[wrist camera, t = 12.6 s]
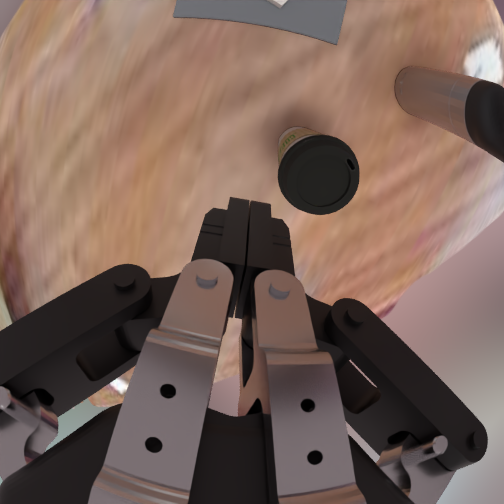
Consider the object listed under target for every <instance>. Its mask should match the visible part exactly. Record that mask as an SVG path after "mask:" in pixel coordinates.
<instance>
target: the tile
mask: <svg viewBox="0 0 504 504" xmlns="http://www.w3.org/2000/svg"><path fill="white" fill-rule="evenodd" d="M267 1H269V2H270V3H272V4H274V5H275V6H277V7H278V8H281V7H282V6H283V5H284V4H285V3H286V2H287V1H288V0H267Z"/></svg>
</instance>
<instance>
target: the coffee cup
mask: <svg viewBox="0 0 504 504" xmlns="http://www.w3.org/2000/svg"><path fill="white" fill-rule="evenodd" d="M278 160H279V169H278V182H279V187H280V189H281V192H282V194H283V195H284V197H285V198H286V199H287V200H288V202H289V203H290V204H291V205H293V206H294V207H296V208H297V209H299V210H302V211H304V212H307V213H310V214H315V215H324V214H330V213H333V212H336V211H338V210H340V209H341V208H343V207H344V206H345V205H347V204H348V203H349V202H350V200H351V199H352V198H353V196H354V195H355V193H356V191H357V188H358V184H359V165H358V161H357V159H356V156H355V154H354V153H353V151H352V150H351V148H350V147H349V146H348V145H347V144H346V143H344V142H343V141H341V140H340V139H338V138H335V137H332V136H329V135H323V134H321V133H318V132H316V131H313V130H310V129H306V128H303V127H292V128H289V129H288V130H286V131H285V132H284V133H283V134H282V135H281V137H280V138H279V142H278Z"/></svg>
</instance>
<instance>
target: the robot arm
mask: <svg viewBox="0 0 504 504" xmlns="http://www.w3.org/2000/svg"><path fill="white" fill-rule="evenodd" d="M395 94H396V98H397V100H398V102H399V104H400V106H401V107H402V108H403V109H404V110H405V111H406V112H407V113H409V114H411V115H413V116H416V117H418V118H421V119H423V120H425V121H428V122H430V123H432V124H434V125H437V126H439V127H441V128H443V129H445V130H447V131H449V132H452V133H454V134H456V135H458V136H460V137H461V138H464V139H466V140H467V141H469V142H471V143H473V144H475V145H477V146H478V147H480V148H482V149H484V150H485V151H487V152H488V153H490V154H491V155H493V156H494V157H496V158H497V159H499V160H501V161H502V162H503V163H504V88H503V87H502V86H500V85H499V84H496V83H493V82H490V81H486V80H483V79H479V78H475V77H471V76H466V75H462V74H457V73H452V72H447V71H441V70H435V69H429V68H422V67H413V66H411V67H407V68H405V69H403V70H402V71H401V72H400V73H399V75H398V76H397V79H396V82H395ZM235 306H236V310H235ZM234 310H235V318H239V319H242V329H241V333H240V336H239V371H240V396H239V403H238V417H233V416H229V415H226V414H223V413H220V412H218V411H215V410H212V409H210V408H208V406H209V401H210V395H211V391H212V386H213V381H214V376H215V371H216V366H217V361H218V356H219V352H220V347H221V342H222V337H223V335H224V334H225V332H226V327H227V323H228V318H229V317H231V318H233V314H234ZM349 360H351V361H352V362H353V363H354V364H355V365H356V366H357V367H358V368H359V369H360V370H361V371H362V372H363V373H364V374H365V375H366V376H367V377H368V378H369V379H370V380H371V381H372V382H373V383H374V384H375V385H376V386H377V387H375V386H373V385H372V384H371V383H370V382H369V381H368V380H367V379H366V378H365V377H364V376H363V375H362V374H361V373H360V372H359V371H358V370H357V369H356V368H355V367H354V365H352V363H351V362H350V361H349ZM135 365H136V366H135ZM134 366H135V369H134V372H133V375H132V377H131V380H130V383H129V386H128V389H127V392H126V394H125V397H124V400H123V403H121V404H118V405H115V406H112V407H110V408H108V409H106V410H104V411H102V412H101V413H99V414H98V415H97V416H95V417H93V418H92V419H91V420H90V421H88V422H87V423H85V424H84V425H83V426H81V427H80V428H78V429H77V430H76V431H74V432H73V433H71V434H70V435H69V436H67V437H66V438H64V439H63V440H61V441H60V442H59V443H57V444H56V445H54V446H53V447H52V448H50V449H49V450H47V451H46V452H45V450H46V447H47V446H48V445H49V444H50V443H51V442H52V441H53V440H54V439H55V437H56V436H57V434H58V419H57V417H59V416H60V415H62V414H64V413H65V412H67V411H68V410H70V409H71V408H73V407H74V406H76V405H77V404H79V403H80V402H82V401H83V400H85V399H87V398H88V397H90V396H91V395H93V394H94V393H96V392H97V391H99V390H100V389H102V388H103V387H104V386H106V385H107V384H109V383H110V382H112V381H113V380H115V379H116V378H118V377H119V376H121V375H122V374H124V373H125V372H127V371H128V370H130V369H131V368H132V367H134ZM345 421H346V422H347V423H348V424H349V425H350V426H351V427H352V428H353V429H354V430H355V431H356V432H357V433H358V434H359V435H360V436H361V437H362V438H363V439H364V440H365V441H366V442H367V443H368V444H369V446H370V447H371V448H372V449H373V450H375V452H376V453H377V454H378V455H379V456H380V459H379V460H378V461H377V462H376V463H375V462H374V461H373V460H372V459H371V458H370V457H369V455H368V454H367V453H366V452H365V451H364V450H363V449H362V448H361V447H360V446H359V445H358V443H357V442H356V441H355V440H354V439H353V438H352V437H351V436H349V435H348V433H347V427H346V422H345ZM487 443H488V437H487V432H486V430H485V427H484V426H483V424H482V423H481V422H480V421H479V420H478V419H477V418H476V417H475V415H474V414H473V413H472V412H471V411H470V410H469V409H468V408H467V407H466V406H465V405H464V403H463V402H462V401H461V400H460V399H459V398H458V397H457V396H456V395H455V394H454V393H453V392H452V391H451V389H449V387H448V386H447V385H446V384H445V383H444V382H443V381H442V380H441V379H440V378H439V377H438V376H437V375H436V374H435V373H434V372H433V371H432V370H431V369H430V368H429V367H428V366H427V365H426V364H425V363H424V362H423V361H422V360H421V359H420V358H419V357H418V356H417V355H416V354H415V353H414V352H413V351H412V350H411V349H410V348H409V347H408V346H407V345H406V344H405V343H404V342H403V341H402V340H401V339H400V338H399V337H398V336H397V335H396V334H395V333H394V332H393V331H392V330H391V329H390V328H389V327H388V326H387V325H386V324H385V323H384V322H383V321H382V320H381V319H380V318H378V317H377V316H376V315H375V314H374V313H373V312H372V311H371V310H370V309H369V308H368V307H367V306H366V305H364V304H363V303H361V302H359V301H357V300H355V299H350V298H343V299H340V300H338V301H336V302H335V303H334V304H333V306H330V305H328V304H325V303H323V302H320V301H318V300H315V299H313V298H311V297H310V296H308V295H307V294H306V293H305V291H304V287H303V285H302V284H301V282H300V281H299V280H298V279H297V278H296V277H295V272H294V264H293V256H292V248H291V240H290V233H289V228H288V227H287V225H286V224H285V223H284V221H283V220H282V219H277V218H271V204H268V203H263V202H257V201H251V202H250V206H249V200H245V199H239V198H233V197H230V200H229V205H228V209H227V210H224V209H218V208H213V209H211V210H210V211H209V212H208V213H207V214H205V217H204V220H203V224H202V227H201V230H200V233H199V236H198V240H197V243H196V246H195V250H194V253H193V256H192V260H191V262H190V263H188V264H187V265H186V266H185V267H184V268H183V270H182V272H181V273H179V274H177V275H174V276H170V277H163V278H150V276H149V274H148V272H147V271H146V270H145V269H143V268H142V267H140V266H137V265H133V264H122V265H118V266H115V267H112V268H111V269H109V270H107V271H105V272H103V273H101V274H99V275H97V276H95V277H93V278H92V279H90V280H88V281H86V282H84V283H82V284H80V285H79V286H77V287H75V288H73V289H71V290H69V291H68V292H66V293H64V294H62V295H60V296H59V297H57V298H55V299H53V300H52V301H50V302H48V303H46V304H45V305H43V306H41V307H39V308H38V309H36V310H34V311H33V312H31V313H29V314H28V315H26V316H24V317H23V318H21V319H19V320H18V321H16V322H14V323H13V324H11V325H9V326H8V327H6V328H5V329H3V330H1V331H0V476H1V478H2V480H3V482H2V484H1V485H0V504H436V502H437V501H438V500H439V498H440V496H441V495H442V493H443V492H444V490H445V488H446V487H447V485H448V484H449V482H450V480H451V478H452V477H453V475H454V473H455V472H456V470H458V469H460V468H463V467H466V466H468V465H471V464H473V463H475V462H477V461H479V460H481V458H482V457H483V456H484V454H485V452H486V449H487Z"/></svg>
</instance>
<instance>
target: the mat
mask: <svg viewBox="0 0 504 504" xmlns="http://www.w3.org/2000/svg"><path fill="white" fill-rule="evenodd" d="M346 3H347V0H288V1H287V2H286V3H285V4H284V5H283V6H282V7H281V8H278V7H277V6H275V5H274V4H272V3H270V2H269V1H267V0H177V2H176V6H175V10H174V15H173V17H174V18H203V19H216V20H226V21H235V22H242V23H249V24H255V25H261V26H266V27H271V28H276V29H281V30H285V31H290V32H294V33H298V34H301V35H305V36H309V37H312V38H316V39H319V40H322V41H326V42H329V43H332V44H335V45H337V43H338V39H339V34H340V30H341V26H342V21H343V17H344V12H345V8H346Z"/></svg>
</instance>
